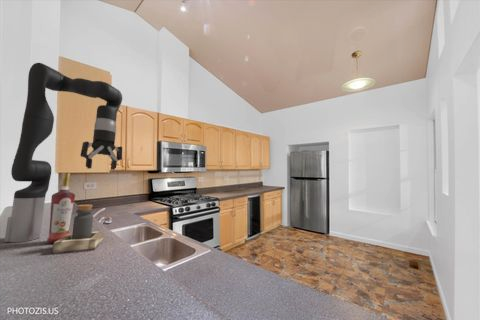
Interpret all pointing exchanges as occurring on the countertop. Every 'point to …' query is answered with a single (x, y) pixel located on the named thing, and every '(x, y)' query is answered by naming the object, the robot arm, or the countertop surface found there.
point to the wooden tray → (78, 243)
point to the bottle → (83, 222)
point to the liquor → (61, 210)
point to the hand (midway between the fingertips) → (101, 169)
